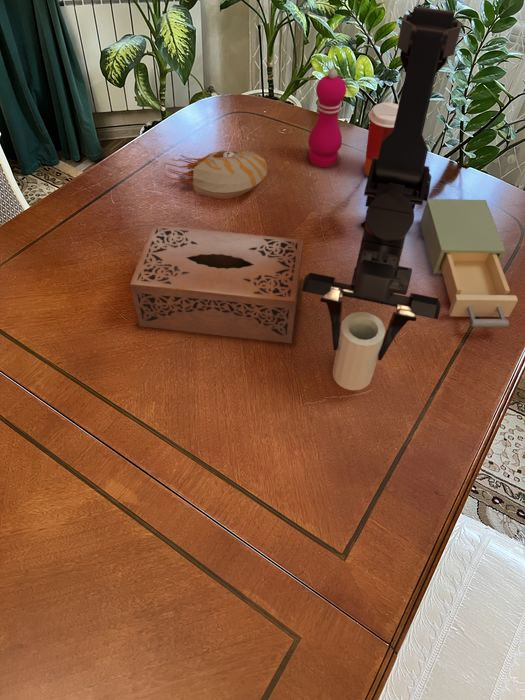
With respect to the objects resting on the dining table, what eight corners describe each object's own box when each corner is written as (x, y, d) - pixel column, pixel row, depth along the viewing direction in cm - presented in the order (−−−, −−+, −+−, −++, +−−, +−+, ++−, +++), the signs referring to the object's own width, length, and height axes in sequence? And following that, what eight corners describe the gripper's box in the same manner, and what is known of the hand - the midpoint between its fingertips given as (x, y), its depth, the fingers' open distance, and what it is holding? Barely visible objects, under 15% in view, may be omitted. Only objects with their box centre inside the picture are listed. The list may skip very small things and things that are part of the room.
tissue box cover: (299, 281, 104) (303, 239, 96) (291, 343, 95) (295, 302, 87) (160, 267, 105) (152, 224, 98) (139, 326, 97) (129, 284, 89)
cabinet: (494, 274, 106) (505, 250, 101) (433, 273, 106) (441, 249, 101) (476, 223, 115) (485, 199, 110) (419, 223, 115) (427, 198, 110)
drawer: (515, 336, 96) (525, 319, 92) (455, 335, 96) (462, 318, 92) (489, 262, 107) (497, 245, 103) (435, 262, 106) (441, 245, 103)
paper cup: (397, 165, 127) (411, 105, 115) (390, 185, 122) (405, 124, 111) (363, 158, 128) (373, 97, 117) (355, 177, 123) (365, 116, 112)
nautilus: (155, 199, 118) (183, 162, 128) (254, 215, 114) (275, 175, 123) (148, 164, 112) (178, 128, 122) (252, 180, 108) (275, 141, 117)
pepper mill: (337, 170, 125) (349, 80, 109) (304, 166, 126) (312, 76, 110) (341, 152, 129) (353, 62, 113) (309, 148, 130) (317, 58, 114)
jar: (324, 369, 88) (332, 323, 79) (354, 352, 90) (365, 305, 81) (349, 397, 85) (361, 352, 76) (379, 378, 87) (394, 332, 78)
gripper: (310, 227, 73) (285, 346, 75) (459, 255, 70) (429, 378, 72) (317, 235, 84) (295, 339, 86) (446, 260, 81) (420, 366, 83)
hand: (356, 355), depth 81 cm, fingers closed on jar, 6 cm apart
